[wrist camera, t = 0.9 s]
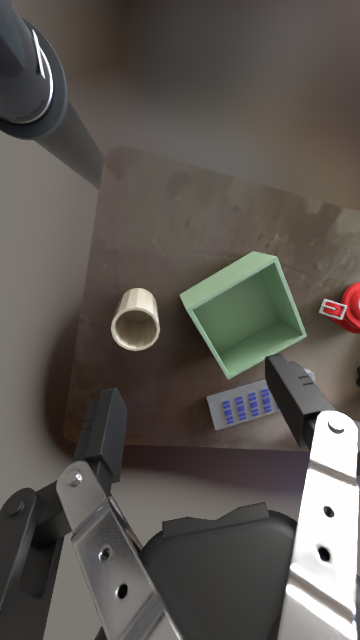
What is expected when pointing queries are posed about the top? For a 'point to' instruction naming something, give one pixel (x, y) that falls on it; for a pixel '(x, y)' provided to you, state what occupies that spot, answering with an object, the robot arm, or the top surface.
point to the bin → (245, 312)
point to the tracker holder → (345, 309)
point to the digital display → (359, 378)
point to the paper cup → (136, 320)
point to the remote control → (243, 403)
